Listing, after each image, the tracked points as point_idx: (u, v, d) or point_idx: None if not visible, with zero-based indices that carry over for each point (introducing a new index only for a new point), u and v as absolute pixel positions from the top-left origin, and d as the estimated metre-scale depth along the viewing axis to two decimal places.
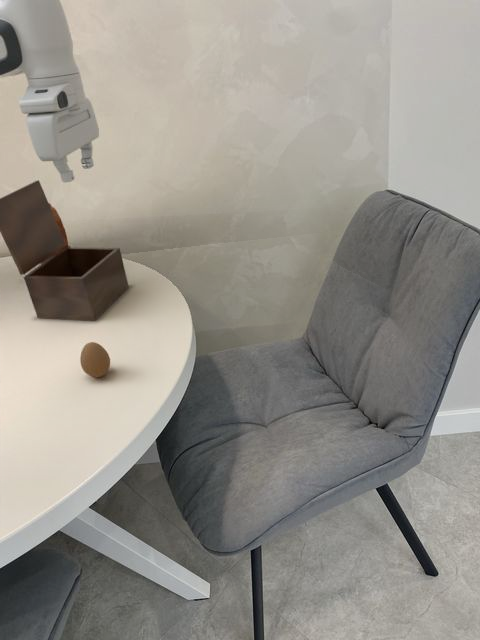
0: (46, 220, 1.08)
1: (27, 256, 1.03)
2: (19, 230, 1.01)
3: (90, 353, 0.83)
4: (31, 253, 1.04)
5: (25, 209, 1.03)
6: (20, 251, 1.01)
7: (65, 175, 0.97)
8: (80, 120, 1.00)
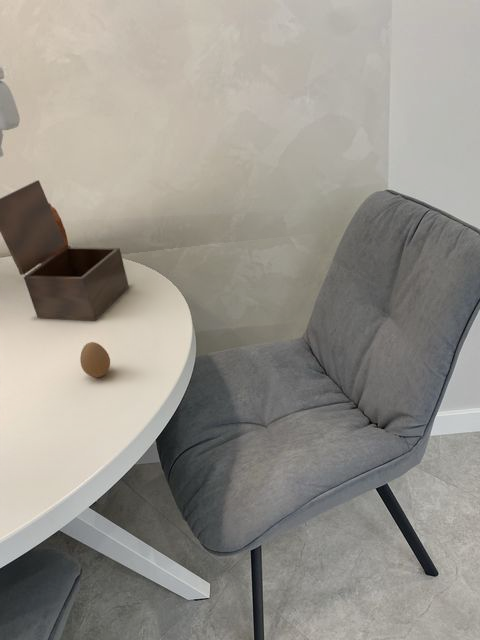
0: (46, 220, 1.08)
1: (27, 256, 1.03)
2: (19, 230, 1.01)
3: (90, 352, 0.83)
4: (31, 253, 1.04)
5: (25, 209, 1.03)
6: (20, 251, 1.01)
7: None
8: None
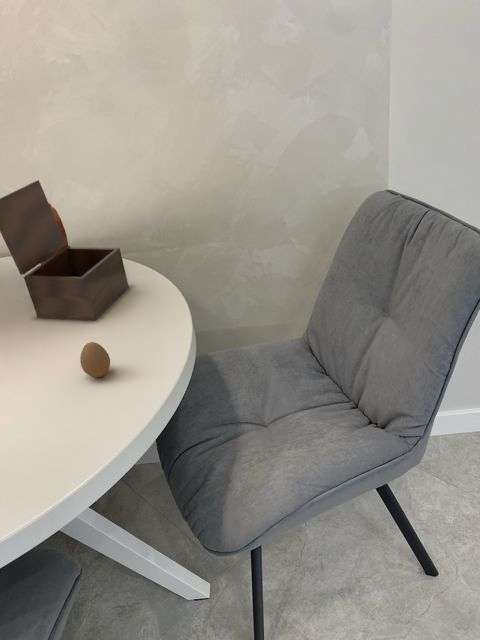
0: (46, 220, 1.08)
1: (27, 256, 1.03)
2: (19, 230, 1.01)
3: (90, 353, 0.83)
4: (31, 253, 1.04)
5: (25, 209, 1.03)
6: (20, 251, 1.01)
7: None
8: None
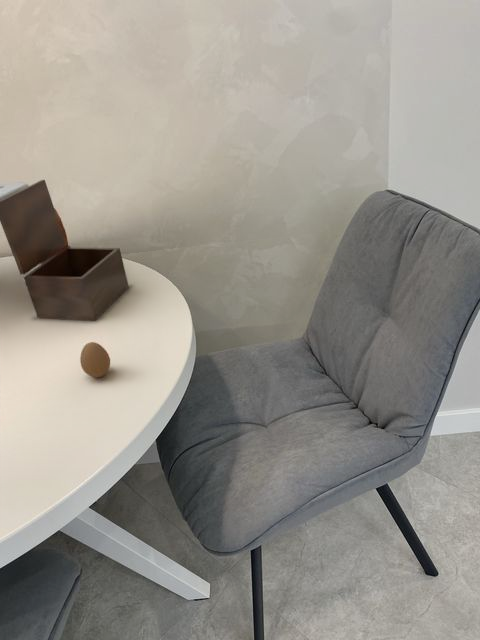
0: (49, 220, 1.08)
1: (28, 256, 1.03)
2: (22, 230, 1.01)
3: (90, 353, 0.83)
4: (32, 253, 1.04)
5: (29, 208, 1.02)
6: (22, 251, 1.01)
7: None
8: None
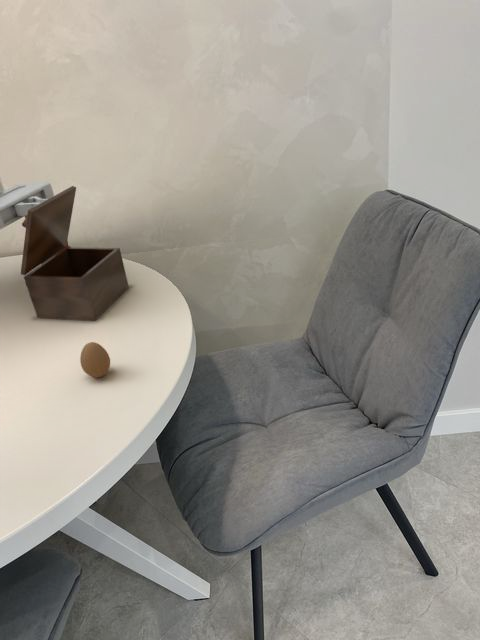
0: (63, 225, 1.08)
1: (34, 258, 1.02)
2: (40, 235, 1.00)
3: (90, 353, 0.83)
4: (38, 255, 1.04)
5: (53, 215, 1.02)
6: (31, 254, 1.01)
7: None
8: (13, 193, 1.04)
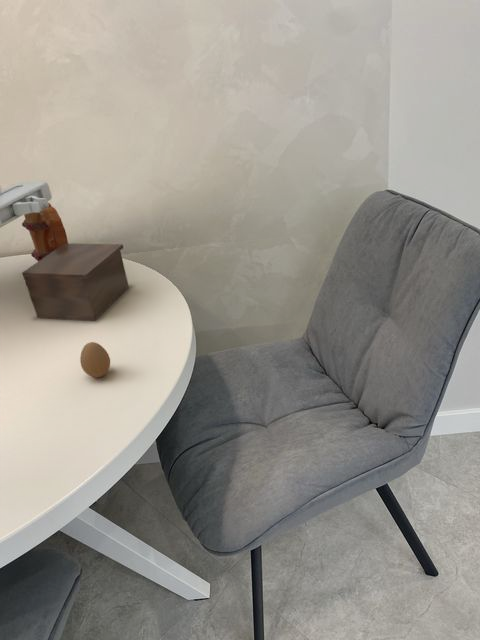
0: None
1: None
2: None
3: (90, 353, 0.83)
4: None
5: None
6: None
7: (33, 207, 1.00)
8: (10, 192, 1.05)
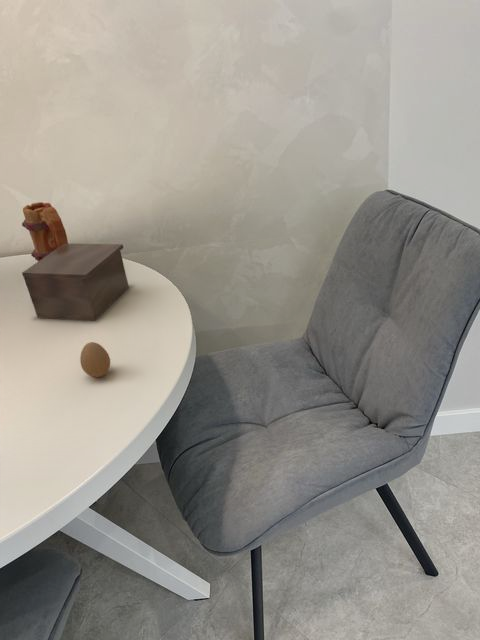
0: None
1: None
2: None
3: (90, 353, 0.83)
4: None
5: None
6: None
7: None
8: None
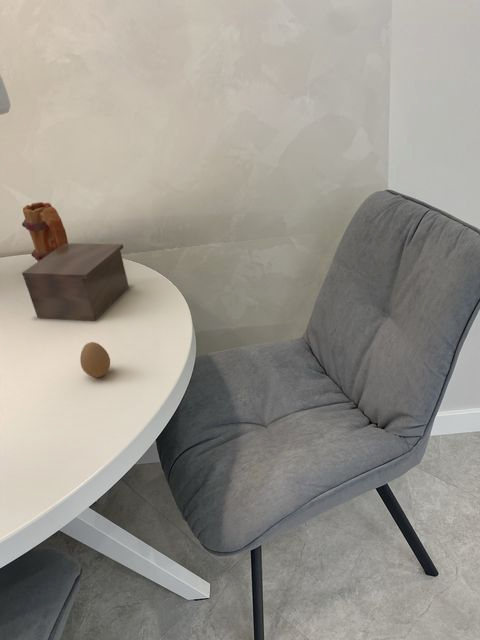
0: None
1: None
2: None
3: (90, 353, 0.83)
4: None
5: None
6: None
7: None
8: None
